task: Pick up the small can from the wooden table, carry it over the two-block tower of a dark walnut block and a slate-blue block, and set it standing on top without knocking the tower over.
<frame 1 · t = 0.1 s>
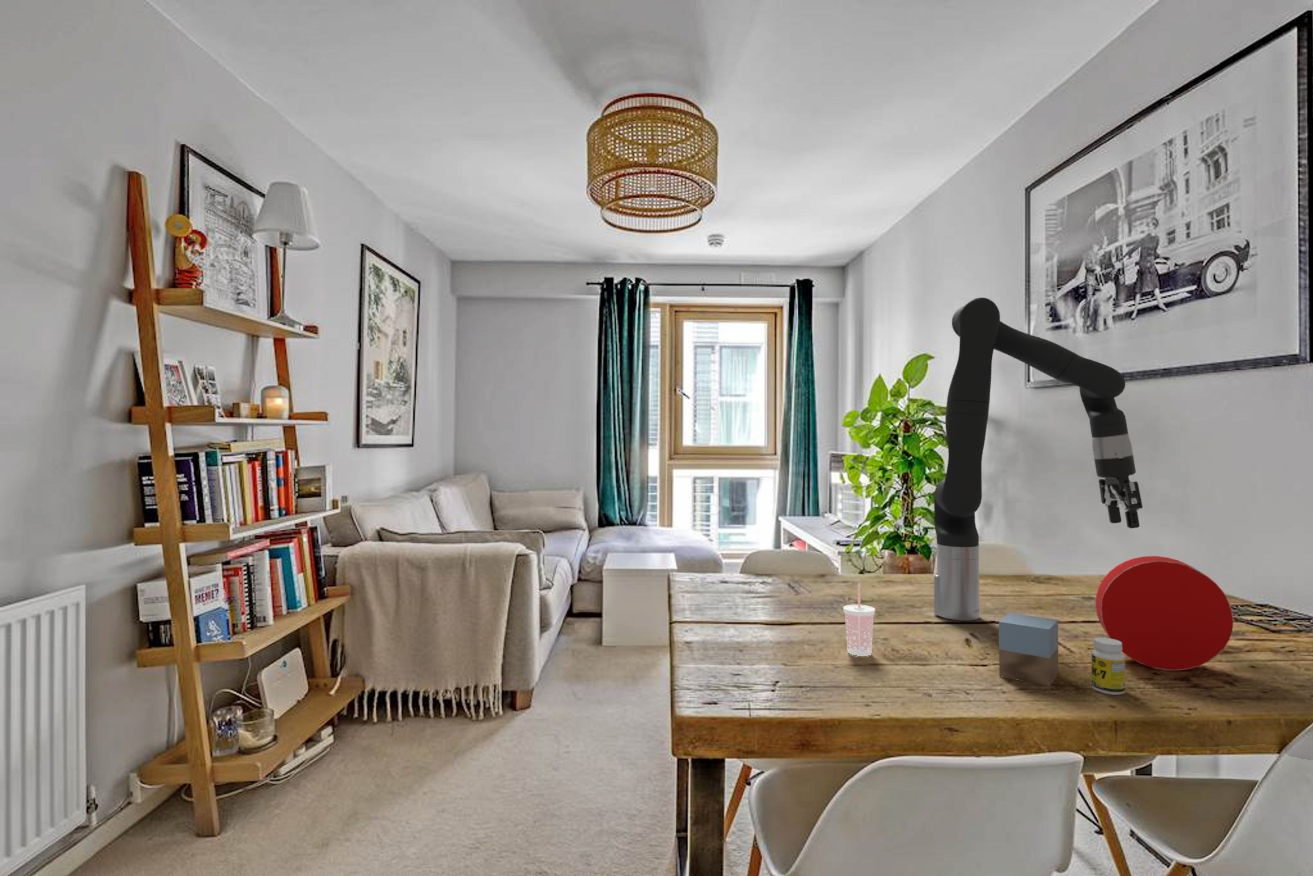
hand: (1124, 525, 158), 22 cm above the table, tool pointing down, fingers open, 8 cm apart
tower base block: (1029, 676, 124), on the table
red disc: (1161, 666, 129), on the table
supplement bottle: (1108, 691, 117), on the table
tower top block: (1028, 648, 124), point 5 cm above the table
beverage cup: (859, 654, 137), on the table
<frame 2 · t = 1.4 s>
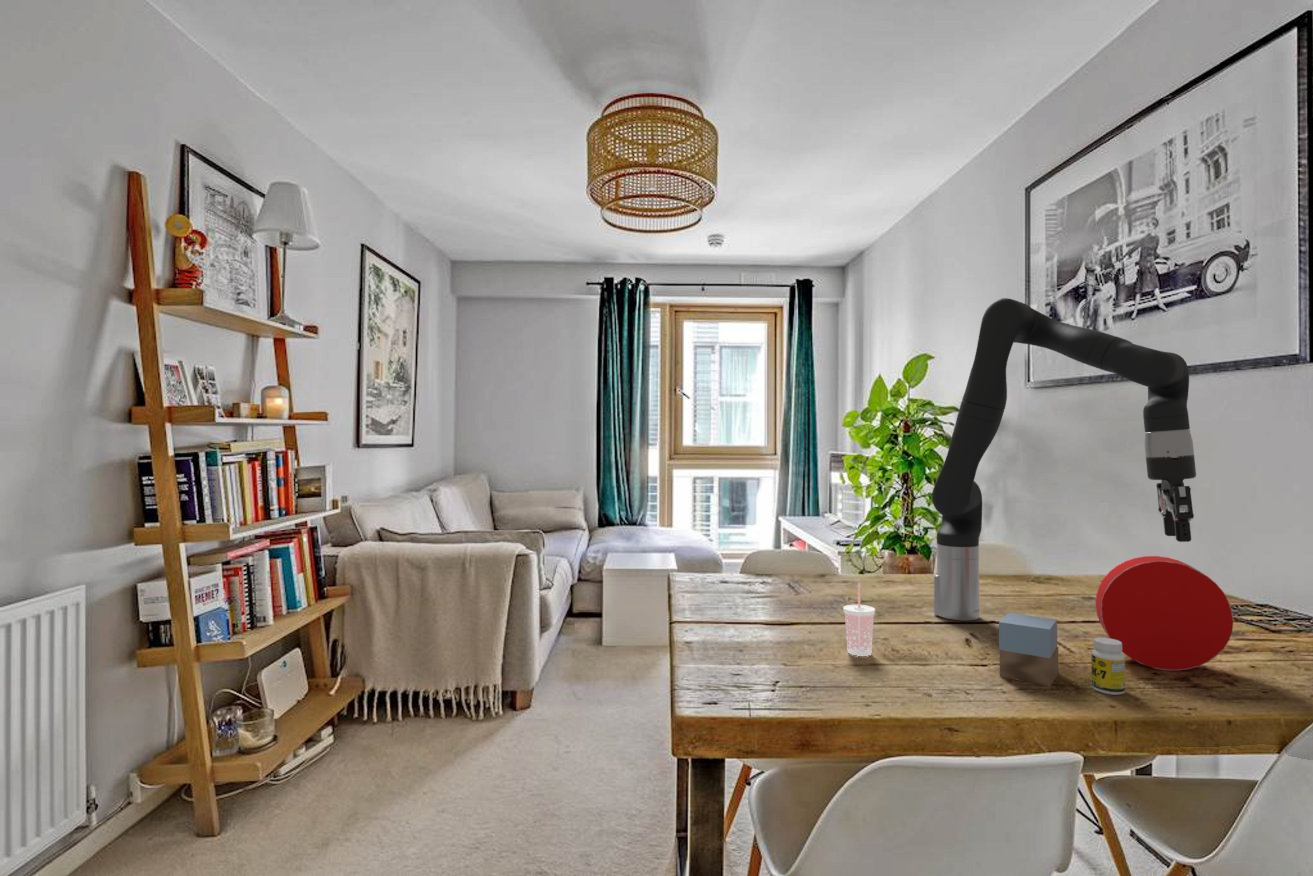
hand: (1177, 538, 132), 23 cm above the table, tool pointing down, fingers open, 8 cm apart
tower base block: (1029, 675, 124), on the table, touching tower top block
tower top block: (1028, 648, 124), point 5 cm above the table, touching tower base block
everything else where it was.
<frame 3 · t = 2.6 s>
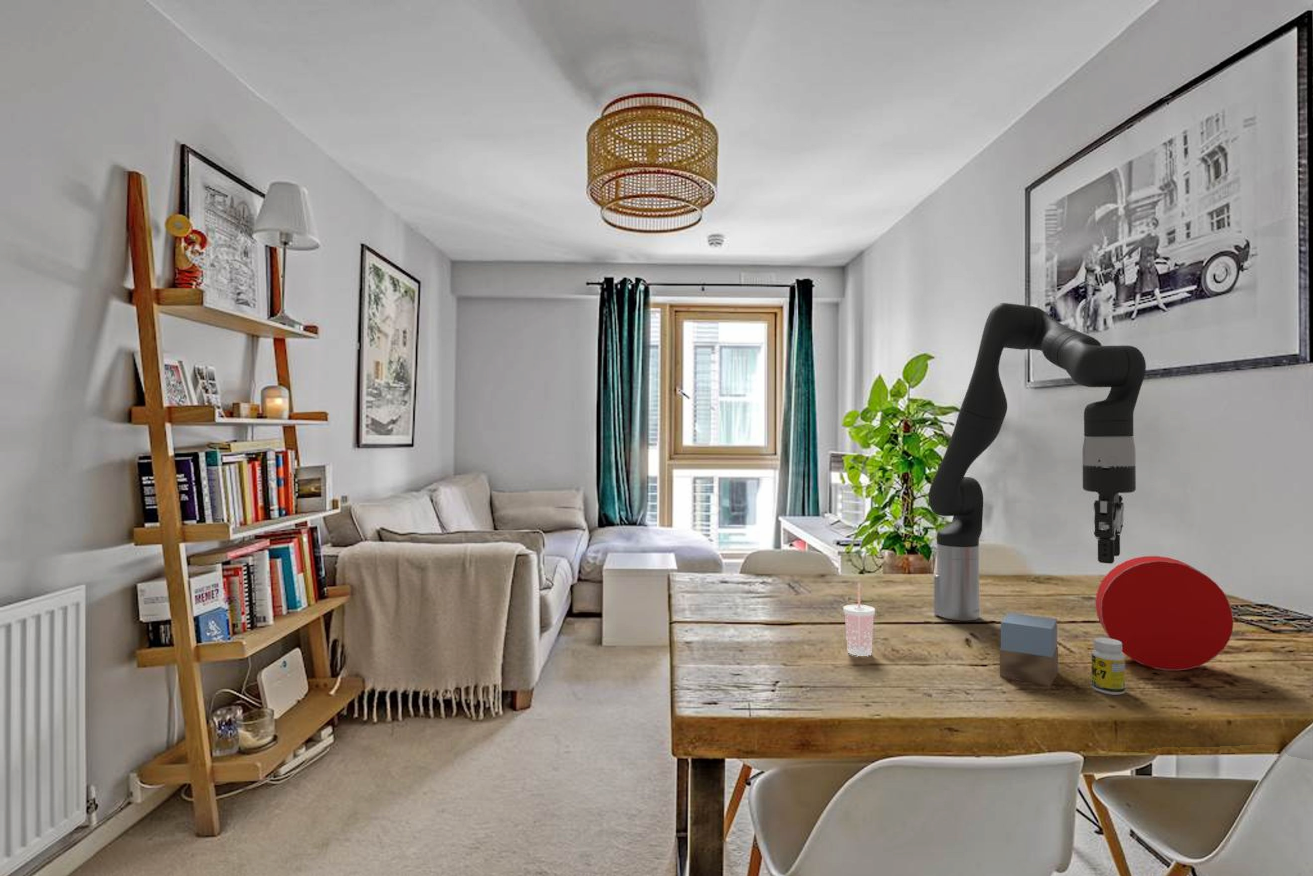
hand: (1109, 559, 117), 22 cm above the table, tool pointing down, fingers open, 8 cm apart
nothing on the table moved.
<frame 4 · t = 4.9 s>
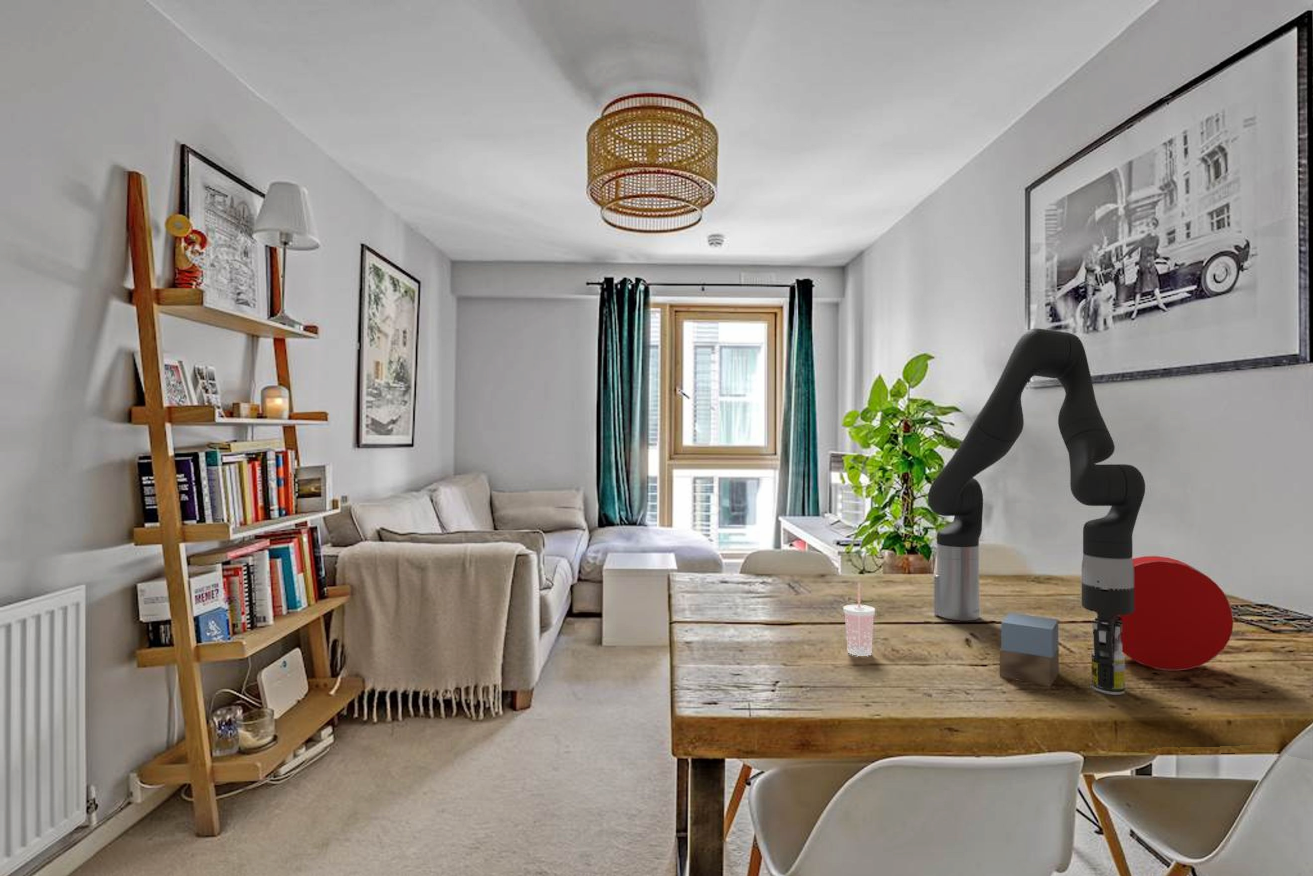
hand: (1108, 681, 117), 1 cm above the table, tool pointing down, fingers open, 5 cm apart
supplement bottle: (1108, 691, 117), on the table, touching gripper
everything else where it was.
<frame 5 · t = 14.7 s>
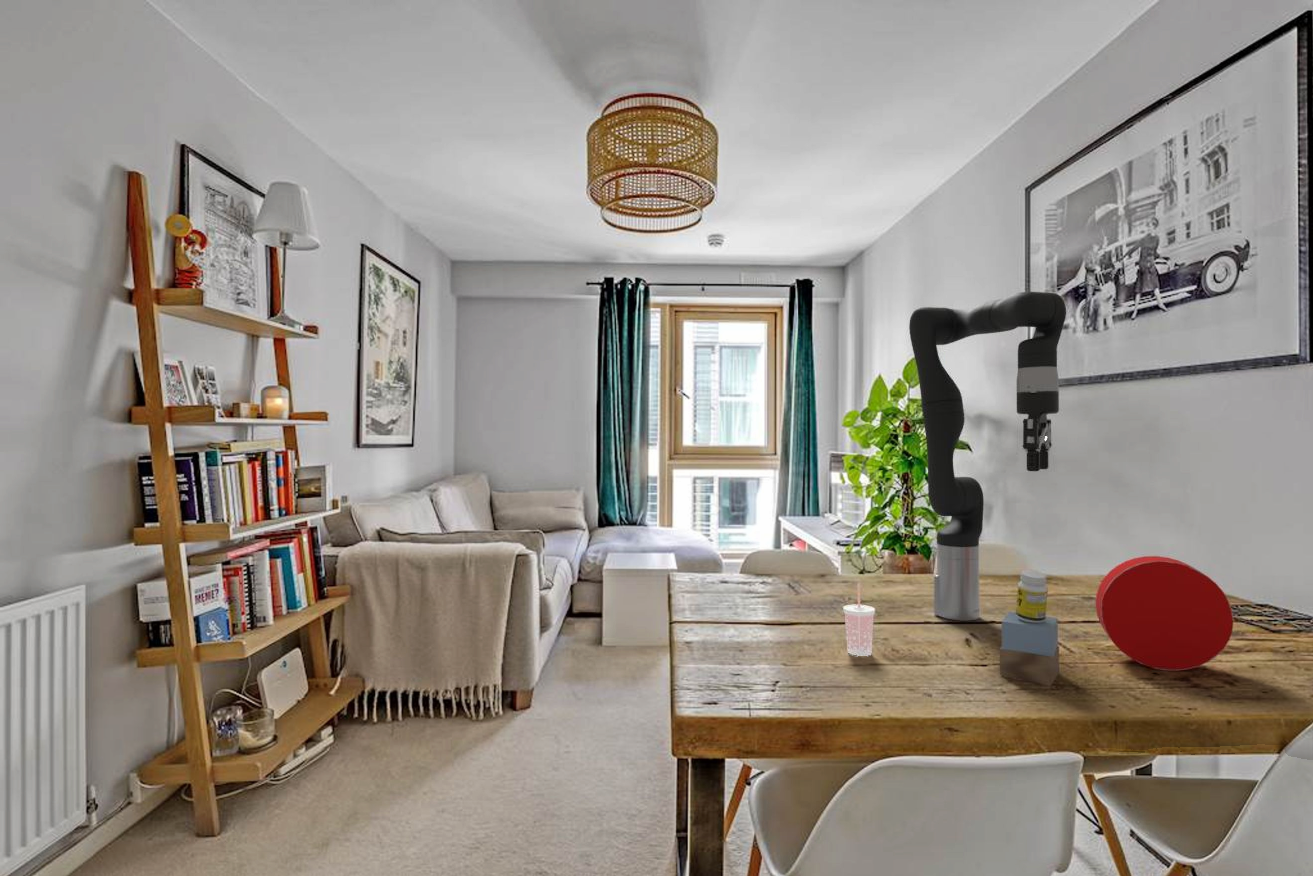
hand: (1037, 470, 140), 36 cm above the table, tool pointing down, fingers open, 8 cm apart
supplement bottle: (1030, 619, 124), point 10 cm above the table, touching tower top block
tower top block: (1030, 647, 125), point 5 cm above the table, touching supplement bottle, tower base block
everything else where it was.
at the end: supplement bottle 0.4 cm from the target spot, point 10.0 cm above the table; supplement bottle tilted 8°; tower top block moved 0.6 cm from its start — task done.
